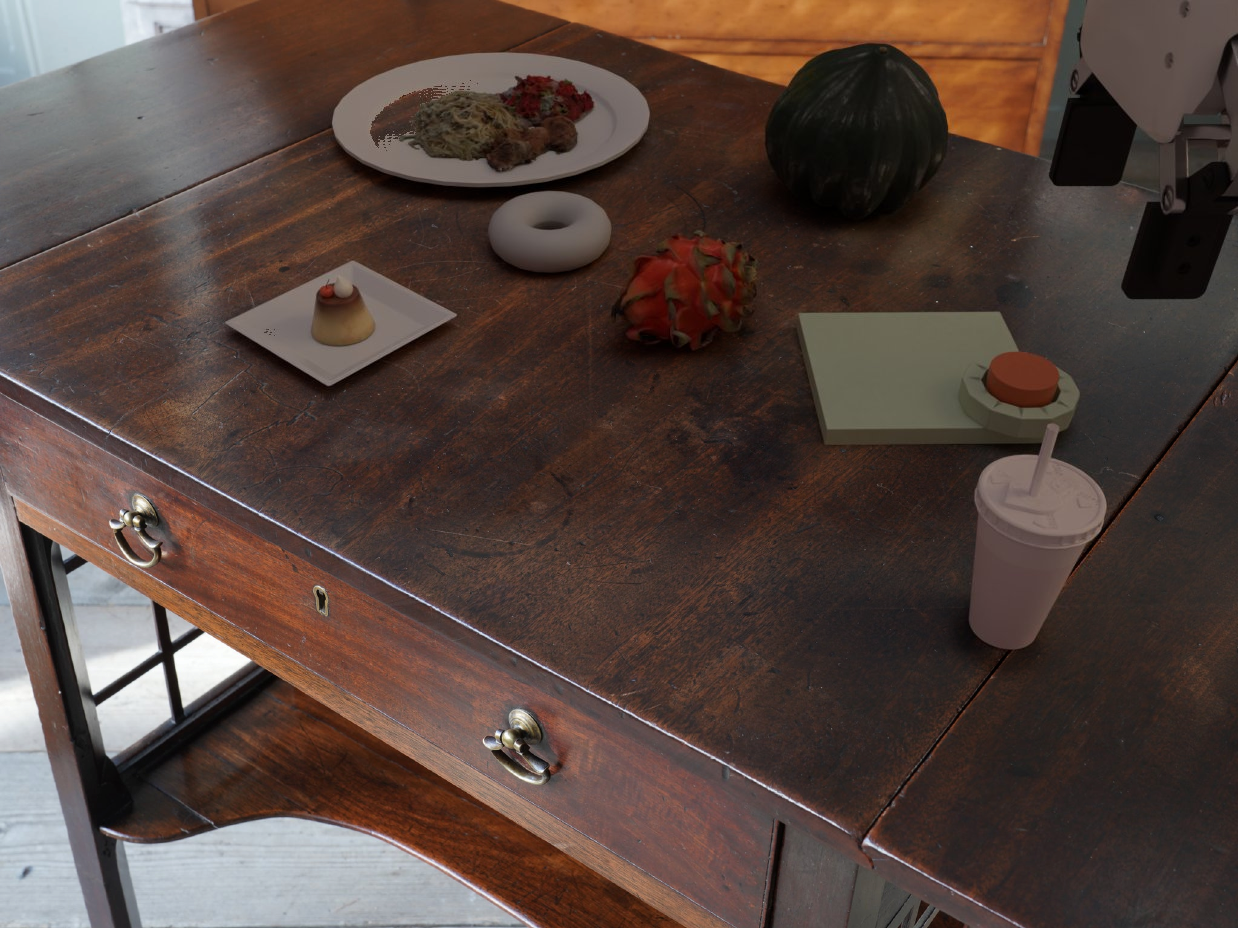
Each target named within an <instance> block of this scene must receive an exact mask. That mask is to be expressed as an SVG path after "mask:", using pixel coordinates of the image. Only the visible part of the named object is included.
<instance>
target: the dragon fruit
mask: <svg viewBox="0 0 1238 928" xmlns="http://www.w3.org/2000/svg"><path fill="white" fill-rule="evenodd" d="M693 235H694V236H696V237H695V238H694V239H689V238H686V237H684V236H683V235H682V234H680V233H676V234H673V235H672V236H671V237H666V238H665V239H663V240H662V241H661V242H660V243H658V244H657V247H656V248H655V250H652V251H648V252H645V253H642V254H640V255H638V256H636V257H634V258H633V260H632V262H631V264H630V267H629V272H628V276H627V279H626V281H625V283H624V284H623V287H622V288H621V290H620V292H619V296H618V298H617V300H616V301H615V302H614V304H613V305H612V307H611V313H610V320H611V323H612V324H615V323H616V322H617V319H616V318H617V316H619V317H620V319H621V321H625V322H627V323H629V325H633V326H634V327H631V328H629V329H627V330H626V331H625V335H626V337H627V339H628V340H631V341H634V342H638V343H643V344H644V345H646V346H647V345H653V346H654V345H655V346H656V344H659V343H661V342H663V340H668V342H669V344H670V345H673V346H674V347H675V348H677V349H678V348H681V347H683V346H684V345H686V344H689V348H690V350H691V351H697V350H699V349H702V348H705V347H706V346H707V345H708V344H711V342H713V337H715V336H718V335H719V333H721V332H722V331H724V332H726V333H734V332H738V331H740V330H741V328H742V324H743V322H742V321H743V320H746V319H750V318H752V316H754V314H755V311H756V310H755V309H753V310H752V311H751V310H748V309H747V308H746V306H748V305H750V304H751V303H752V301H753V300H754V299H755V298H757V294H758V291H757V285H756V283H755V282H756V281H757V280H758V278H759V277H758V275H757V273H758V263H759V260H758V259H756V258H755V257H753V256H752V255H751V254H750V253H749V252H746V251H745V252H743V251H742V249H743V244H742V243H739V242H737V241H729V242H726V240H724V239H723V238H721V237H719V238H717V239H716V240H714V239H712V238H711V237H710V234H709V233H707V232H704V231H702V230H701V229H697V230H695V231H694V232H693ZM731 318H732V319H735V320H738V324H734V322H733V321H732V320H731ZM704 334H705V335H704ZM702 335H704V338H703V340H702Z"/></svg>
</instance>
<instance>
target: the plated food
mask: <svg viewBox="0 0 1238 928" xmlns="http://www.w3.org/2000/svg"><path fill="white" fill-rule="evenodd" d="M470 80H471V81H470ZM462 83H464V84H462ZM477 83H478V84H477ZM441 85H442V87H434V86H441ZM445 86H447V87H445ZM452 86H456V87H452ZM460 86H465V87H460ZM468 86H470V87H468ZM427 88H432V89H433V88H438V89H446V90H433V91H442V92H446V93H436V94H442V95H445V96H442V97H441V96H433V97H438V98H439V99H432V100H431V101H430V102H426V103H427V104H425V103H422V104H420V109H421V110H420V111H418V112H417V113H416V114H415V115H414V116H411V117H415V119H416V118H417V119H418V120H417V119H416V120H417V121H416V120H412V124H411V126H412V125H413V124H417V127H416V128H415V131H414V134H409V133H410V132H413V131H410V132H407V133H406V134H404V135H402V136H399V137H398V136H393V135H395V134H392V136H387V135H389V134H387V135H386V136H385V139H384V140H385V142H383V141H384V140H380V139H378V140H380V142H378V144H379V146H378V147H379V148H378V147H377V146H376V145H375V142H374V141H373V139H372V136H371V134H370V130H371V127H372V125H371V124H372V121H374V120H375V117H377V116H376V115H378V114H380V112H381V111H383V109H384V107H386V106H389V104H390V103H391V104H392V103H394V101H395V100H399V98H400V97H402V96H403V95H407V94H409V93H411V94H412V92H414V91H416V92H417V91H419V90H420V91H422V90H423V89H427ZM447 88H448V89H447ZM451 89H454V90H451ZM459 89H464V90H459ZM467 89H470V90H467ZM426 91H428V90H426ZM447 91H448V92H447ZM424 92H425V91H424ZM431 92H432V91H431ZM451 92H452V93H451ZM449 93H450V94H449ZM419 94H421V93H419ZM426 94H428V93H426ZM434 94H435V93H434ZM446 94H448V95H446ZM424 95H425V94H424ZM431 95H432V94H431ZM420 97H421V96H420ZM426 97H427V96H426ZM431 98H432V97H431ZM332 115H333V116H332V121H331V126H332V127H331V128H332V131H333V134H334V137H335V141H336V142H337V143H338V144H339V146H340V147H341V148H342V149H343V150H344V151H345V153H347V154H348V155H350V156H351V157H352V158H354V159H355V160H357V161H359V162H360V163H361V164H363V165H365V166H367V167H370V168H372V169H374V170H377V171H379V172H381V173H384V174H387V175H390V176H395V177H397V178H401V179H404V180H405V179H406V180H409V181H412V182H419V183H427V184H433V185H439V186H440V185H441V186H449V187H451V186H452V187H465V188H493V187H495V188H497V187H514V186H515V187H516V186H523V185H524V186H525V185H530V184H531V185H533V184H538V183H539V184H540V183H546V182H550V181H551V182H552V181H555V180H560V179H563V178H568V177H572V176H576V175H580V174H583V173H585V172H587V171H590V170H593V169H597V168H599V167H602V166H604V165H606V164H608V163H610V162H612V161H614V160H616V159H618V158H619V157H621V156H623V155H625V154H626V153H627V152H628V151H630V150H631V149H632V148H633V147H635V146H636V145H637V144H638V143H639V142H640V141H641V139H642V138H643V136H644V135H645V133H646V132H647V130H648V126H649V123H650V116H651V112H650V107H649V105H648V101H647V99H646V98H645V97H644V95H643V94H642V93H641V91H640V90H639V89H638V87H636V86H634V85H633V84H632V83H630V82H629V81H628V80H626V79H625V78H624V77H622V76H620V75H618V74H615V73H613V72H611V71H609V70H607V69H605V68H602V67H598V66H595V65H593V64H590V63H587V62H583V61H578V60H575V59H570V58H565V57H560V56H554V55H545V54H537V53H527V52H525V53H524V52H476V53H475V52H474V53H465V54H454V55H446V56H440V57H436V58H435V57H434V58H430V59H425V60H420V61H415V62H412V63H409V64H405V65H401V66H397V67H395V68H393V69H390V70H386V71H384V72H382V73H380V74H377V75H374V76H373V77H371V78H369V79H367V80H366V81H363V82H361V83H360V84H358V85H356V86H355V87H354V88H352V90H350V91H349V92H348V93H346V94H345V95H344V96H343V97H342V98H341V99H340V101H339V102H338V104H337V106H336V107H335V108H334V110H333V114H332ZM419 129H420V130H419ZM393 132H394V131H393ZM418 132H419V133H418ZM415 133H417V134H415ZM399 135H401V134H399ZM379 137H380V136H379ZM389 137H392V138H391V139H387V138H389ZM395 137H398V139H393V138H395ZM399 138H400V139H399ZM390 140H391V142H388V141H390ZM383 144H385V145H383ZM389 144H390V145H389ZM384 147H386V148H384ZM386 150H387V151H386Z"/></svg>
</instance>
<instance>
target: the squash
mask: <svg viewBox="0 0 1238 928" xmlns="http://www.w3.org/2000/svg"><path fill="white" fill-rule="evenodd" d="M947 117H948V116H947V113H946V111H945V109H944V107H943V105H942V102H941V100H940V96H939V93H938V89H937V87H936V85H935V83H934V81H933V80H932V78H931V77H930V75H929V73H928V72H927V71H926V70H925V69H924V68H923V67H922V66H921V65H920V64H919V63H918V62H917V61H915V60H914V59H912V57H910V56H909V55H908V54H906V53H905V52H904V51H902V50H901V49H900V48H897V47H896V46H894V45H891V44H888V43H883V42H881V43H880V42H879V43H878V42H866V43H859V44H856V45H855V44H854V45H850V46H847V47H843V48H842V47H841V48H834V49H830V50H827V51H824V52H821V53H819V54H818V55H816V56H814V57H812V58H811V59H809V60H808V61H807V62H805V63H804V64H803V66H802V67H801V68H799V69H798V70H797V72H796V73H795V74H794V75H793V77H792V78H791V80H790V82H789V83H788V85H787V86H786V88H785V89H784V90H783V91H782V92H781V93H780V95H779V96H778V98H776V100H775V102H774V103H773V104H772V107H771V109H770V111H769V114H768V116H767V119H766V122H765V126H764V146H765V151H766V156H767V159H768V162H769V164H770V166H771V168H772V170H773V171H774V173H775V174H776V177H777V178H778V180H780V181H781V182H782V183H783V184H784V185H786V186H787V188H788V189H789V191H790V192H791V193H792V194H793V195H794V196H795V197H797V198H799V199H801V200H812V199H813V202H815V203H816V204H817V205H819V206H821V207H822V208H829V207H833V206H835V205H836V207H837V209H838V211H839V212H840V213H841V214H842V215H843V216H845V217H847V218H848V219H852V220H855V221H856V220H863V219H864V218H866V217H868V216H869V215H870V214H874V215H878V216H888V215H892V214H895V213H896V212H898V211H900V210H901V209H902V208H903V207H905V206H906V205H907V204H908V203H909V202H910V201H911V200H912V199H913V198H914V196H915V195H916V194H917V193H918V192H920V191H921V190H922V189H923V188H924V187H925V186H927V184H928V183H929V182H930V181H931V180H932V179H933V177H935V175H937V173H938V171H939V169H940V168H941V166H942V165H943V163H944V160H945V159H946V155H947V152H948V147H949V123H948V118H947Z"/></svg>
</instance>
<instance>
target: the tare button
mask: <svg viewBox="0 0 1238 928" xmlns="http://www.w3.org/2000/svg"><path fill="white" fill-rule="evenodd" d="M1055 366H1056V365H1055V364H1054V363H1052V362H1051V361H1050V360H1049V359H1046V358H1045V357H1043V356H1040V355H1037V354H1034V353H1031V352H1026V351H1019V352H1007V353H1003V354H1000V355H998V356H996V357H995V358H994V359H993V360H992V361H991V363H990V367H989V371H988V375H987V379H986V388H987V390H988V392H989V393H990V395H992V396H993V397H994V398H996V399H997V400H999V401H1000V402H1003V403H1006V404H1010V405H1013V406H1016V407H1020V408H1040V407H1043V406H1047V405H1049V404H1051V403H1052V402H1051V401H1052V400H1053V398H1054V395H1055V392H1056V388H1057V385H1058V381H1059V372H1058V370H1057V368H1058V367H1057V366H1056V367H1057V368H1056V367H1055Z"/></svg>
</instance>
